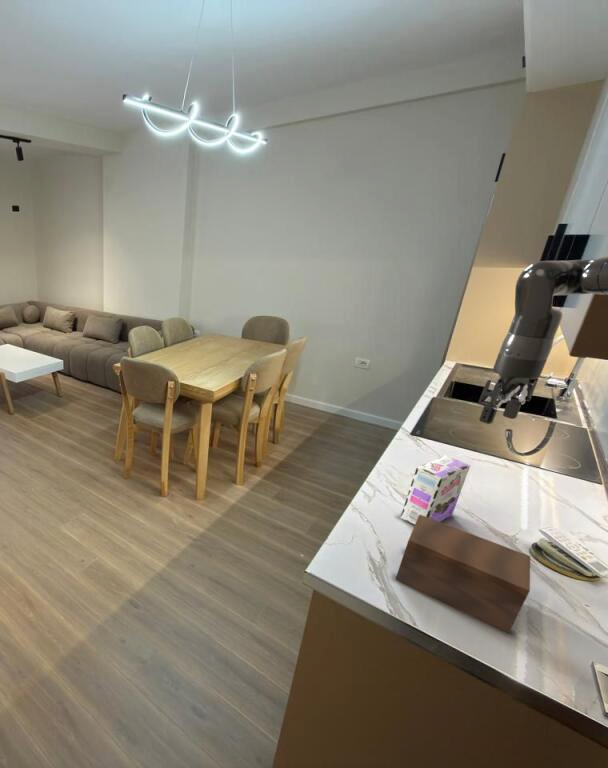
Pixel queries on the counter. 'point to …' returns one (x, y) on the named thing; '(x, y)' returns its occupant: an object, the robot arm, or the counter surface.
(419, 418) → the counter surface
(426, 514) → the candy box
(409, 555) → the walnut wooden block
